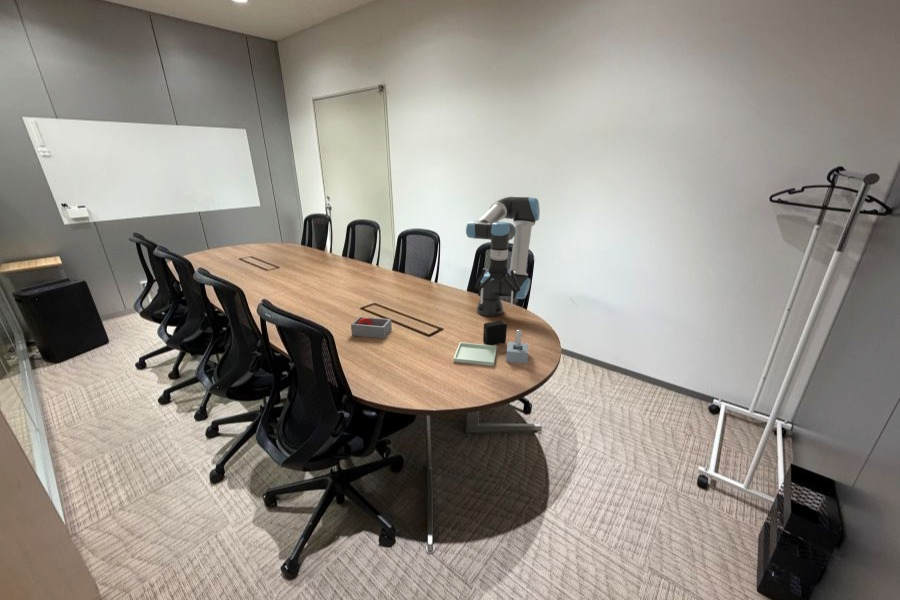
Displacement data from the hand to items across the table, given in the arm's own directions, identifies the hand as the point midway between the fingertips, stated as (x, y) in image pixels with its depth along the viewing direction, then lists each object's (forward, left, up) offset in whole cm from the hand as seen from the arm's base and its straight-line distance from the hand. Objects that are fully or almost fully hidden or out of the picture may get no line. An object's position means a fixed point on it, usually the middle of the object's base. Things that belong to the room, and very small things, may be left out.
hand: (496, 304), depth 166 cm
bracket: (+1, -62, -20) cm, 65 cm away
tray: (+14, -7, -20) cm, 25 cm away
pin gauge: (+12, +11, -19) cm, 25 cm away
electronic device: (0, 0, -20) cm, 20 cm away
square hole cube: (+12, +11, -20) cm, 26 cm away
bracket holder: (+2, -61, -20) cm, 64 cm away
